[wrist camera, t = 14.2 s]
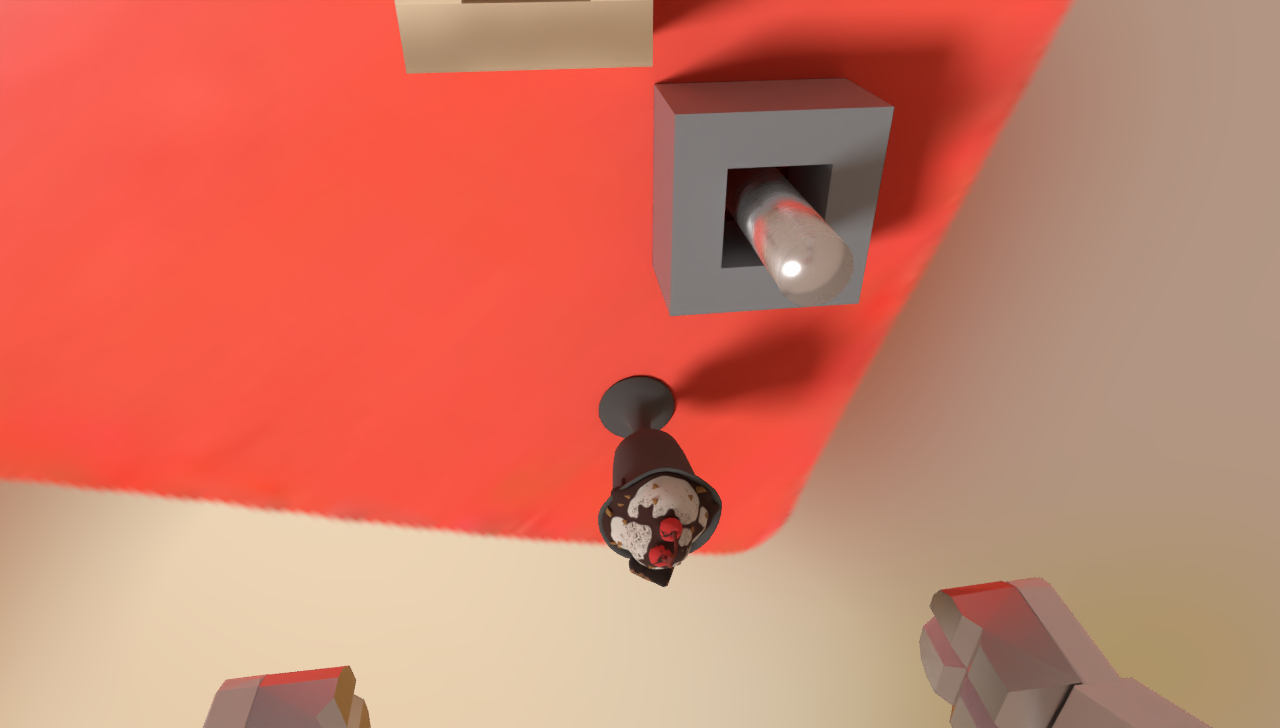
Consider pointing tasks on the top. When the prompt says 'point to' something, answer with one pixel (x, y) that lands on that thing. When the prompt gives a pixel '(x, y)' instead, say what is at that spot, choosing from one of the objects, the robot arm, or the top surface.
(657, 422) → the sundae
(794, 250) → the pin
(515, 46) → the mount block
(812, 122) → the dock block
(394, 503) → the top surface
